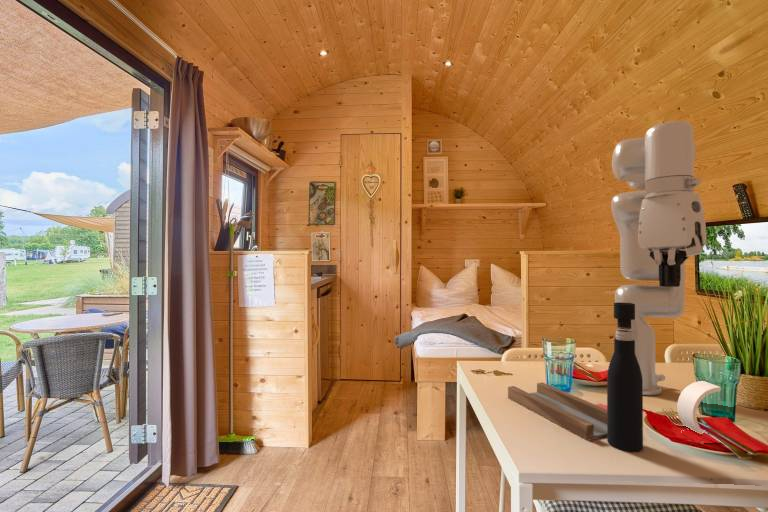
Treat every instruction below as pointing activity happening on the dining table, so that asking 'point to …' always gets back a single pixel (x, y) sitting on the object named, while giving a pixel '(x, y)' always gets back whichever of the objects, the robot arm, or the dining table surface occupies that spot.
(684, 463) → the dining table surface
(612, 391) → the wine bottle
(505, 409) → the dining table surface
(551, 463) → the dining table surface
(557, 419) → the cradle
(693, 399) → the white crescent arch
